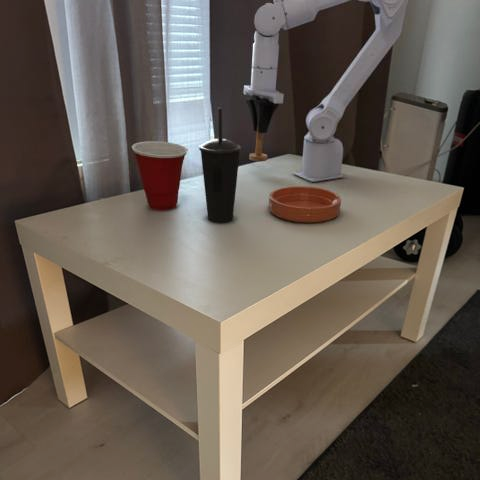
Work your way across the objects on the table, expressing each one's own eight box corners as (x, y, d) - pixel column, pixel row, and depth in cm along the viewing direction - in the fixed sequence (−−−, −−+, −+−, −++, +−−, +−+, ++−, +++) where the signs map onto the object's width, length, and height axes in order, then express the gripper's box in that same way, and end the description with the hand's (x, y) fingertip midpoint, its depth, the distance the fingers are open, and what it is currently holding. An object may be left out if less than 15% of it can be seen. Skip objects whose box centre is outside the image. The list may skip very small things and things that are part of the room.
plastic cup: (181, 217, 94) (177, 154, 88) (129, 212, 96) (122, 150, 90) (196, 200, 104) (194, 141, 97) (148, 196, 105) (143, 138, 99)
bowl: (311, 197, 107) (312, 183, 105) (353, 217, 96) (355, 201, 94) (255, 206, 100) (256, 191, 99) (294, 229, 90) (296, 212, 88)
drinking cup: (247, 221, 93) (251, 109, 83) (214, 228, 89) (213, 113, 79) (225, 209, 99) (226, 103, 88) (193, 216, 95) (189, 106, 84)
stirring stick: (261, 156, 121) (264, 116, 116) (270, 160, 118) (273, 119, 113) (246, 157, 120) (248, 116, 115) (254, 161, 116) (257, 120, 111)
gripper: (233, 64, 112) (231, 126, 119) (266, 71, 101) (261, 138, 108) (259, 64, 115) (255, 125, 122) (293, 71, 104) (287, 137, 112)
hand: (260, 131), depth 116 cm, fingers closed on stirring stick
